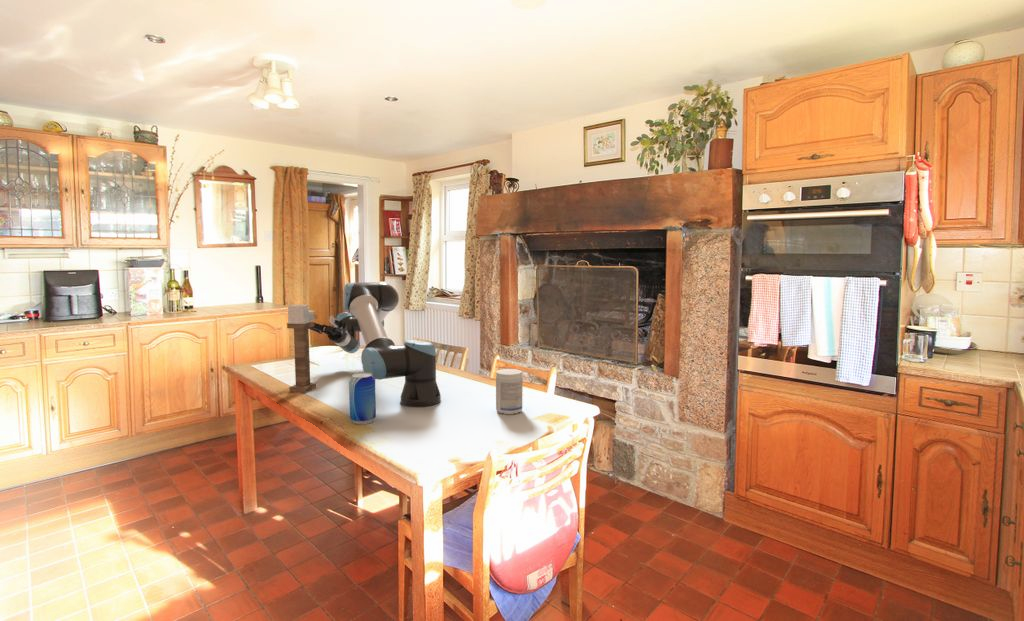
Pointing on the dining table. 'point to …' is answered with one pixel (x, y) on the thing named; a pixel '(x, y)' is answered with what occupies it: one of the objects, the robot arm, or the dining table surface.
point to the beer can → (362, 398)
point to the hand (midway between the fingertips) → (315, 317)
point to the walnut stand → (302, 357)
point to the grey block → (300, 314)
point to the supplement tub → (509, 391)
